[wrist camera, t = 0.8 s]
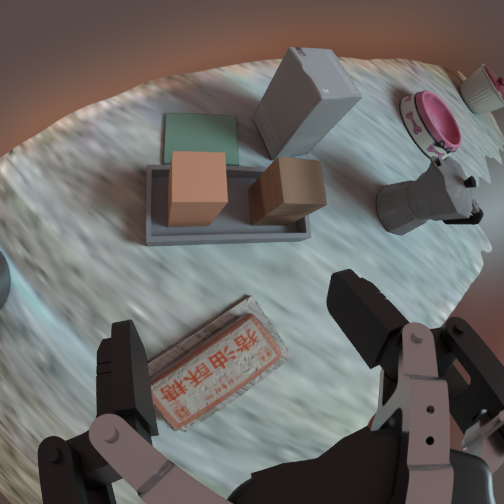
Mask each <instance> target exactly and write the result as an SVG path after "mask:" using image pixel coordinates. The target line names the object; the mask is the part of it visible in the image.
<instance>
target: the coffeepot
mask: <svg viewBox="0 0 504 504" xmlns="http://www.w3.org/2000/svg"><path fill="white" fill-rule="evenodd" d="M430 161H431V163H430V166H429V168H428V170H427V171H426V172H425V173H423V174H422V175H420V177H419V178H418V179H417V180H416V181H412V180H411V181H406V182H401V183H396V184H391V185H386V186H385V187H384V188H383V189H382V190H381V191H380V192H379V193H378V195H377V200H376V207H377V212H378V216H379V218H380V221H381V222H382V224H383V225H384V227H385V228H386V229H387V230H388V232H391V233H393V234H399V235H404V234H406V233H407V232H409V231H411V230H413V229H415V228H417V227H419V226H421V225H422V224H424V223H426V222H427V220H429V219H432V220H435V221H438V220H442V221H443V222H444V223H445V224H473V225H475V224H478V223H479V222H480V221H481V219H482V217H483V212H482V210H481V209H480V208H479V205H478V203H477V202H476V201H475V200H473V198H472V191H471V188H472V187H476V181H475V179H474V177H473V176H471V177H469V178H467V177H466V175H465V173H464V171H463V169H462V167H461V165H460V164H459V163H457V162H456V161H455V160H453V159H452V158H450V157H449V156H448V157H446V158H445V159H443V160H442V159H441V158H439V157H436V156H432V157H431V158H430ZM470 214H472V215H470Z"/></svg>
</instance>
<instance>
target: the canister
mask: <svg viewBox="0 0 504 504" xmlns="http://www.w3.org/2000/svg"><path fill="white" fill-rule="evenodd" d="M503 86H504V79H503V78H502V77H499V79H498V78H497V76H496V75H495V74H494V72H493V71H492V70H491V69H490V68H489V67H488V66H486V65H484V64H482V67H480V68H479V69H478V70H477V71H476V72H474V73H473V74H472V75H471V76H470V77H468V79H466V80H465V81H464V82H463V83H462V84H461V86H460V93H461V95H462V97H463V99H464V101H465V103H466V104H467V106H468V107H469V108H470V110H471V111H472V112H473V113H475V114H478V115H479V114H484V113H487V112H490V111H493V110H496V109H498V108H501V107H504V88H503Z"/></svg>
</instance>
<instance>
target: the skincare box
mask: <svg viewBox="0 0 504 504" xmlns="http://www.w3.org/2000/svg"><path fill="white" fill-rule="evenodd" d="M361 98H362V95H361V94H360V92H359V90H358V89H357V87H356V86H355V84H354V82H353V81H352V79H351V78H350V76H349V75H348V73H347V72H346V70H345V69H344V67H343V66H342V64H341V63H340V61H339V60H338V58H337V57H336V55H335V54H334V53H333V51H332V50H328V49H316V48H300V47H289V49H288V51H287V52H286V54H285V56H284V58H283V60H282V62H281V63H280V65H279V67H278V69H277V71H276V73H275V75H274V77H273V79H272V81H271V82H270V84H269V86H268V88H267V90H266V92H265V94H264V96H263V98H262V100H261V102H260V104H259V106H258V108H257V110H256V112H255V114H254V116H253V119H254V121H255V123H256V125H257V127H258V129H259V132H260V134H261V136H262V138H263V140H264V143H265V145H266V147H267V149H268V152H269V154H270V156H271V158H272V160H275V159H276V158H277V157H292V156H297V155H302V154H307V153H309V152H310V151H311V150H312V149H313V148H314V146H315V145H316V144H317V143H318V142H319V141H320V140H321V139H322V138H323V137H324V136H325V135H326V134H327V133H328V132H329V131H330V130H331V129H332V128H333V127H334V126H335V125H336V124H337V123H338V122H339V121H340V120H341V119H342V118H343V117H344V115H345V114H346V113H347V112H348V111H349V110H350V109H351V108H352V107H353V106H354V105H355V104H356V103H357V102H358V101H359V100H360V99H361Z"/></svg>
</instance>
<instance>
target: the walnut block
mask: <svg viewBox="0 0 504 504" xmlns="http://www.w3.org/2000/svg"><path fill="white" fill-rule="evenodd" d="M248 192H249V204H250V217H251V226H287V225H289V224H291V223H293V222H295V221H297V220H299V219H301V218H303V217H304V216H306V215H308V214H310V213H312V212H314V211H316V210H318V209H320V208H322V207H324V206H326V205H327V201H326V194H325V188H324V182H323V175H322V169H321V164H320V161H314V160H306V159H298V158H288V157H277V158H276V159H275V160H274V162H273V163H272V164H271V165H270V166H269V167H268V168H267V169H266V170H265V171H264V172H263V173H262V174H261V176H260V177H259V178H258V179H257V180H256V181H255V182H254V183H253V184H252V185H251V186H250V188H249V189H248Z"/></svg>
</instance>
